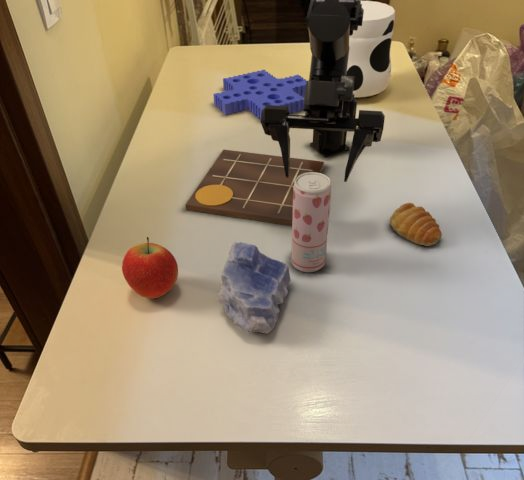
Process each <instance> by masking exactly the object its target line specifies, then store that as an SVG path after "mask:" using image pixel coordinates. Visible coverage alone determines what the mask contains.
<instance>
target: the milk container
mask: <svg viewBox="0 0 524 480" xmlns="http://www.w3.org/2000/svg"><path fill="white" fill-rule="evenodd" d="M360 1H361V4H362V8H363V10H364V14H363V22H362V26H358V30H357V31H355V30H353V35H352V36H349V48H350V49H349V57H348V66H347V74H348V76H354V87H353V94H354V98H355V100H356V101H358V100H367V99H371V98H374V97H378V96H379V95H380V94H382V93H383V92H384V91H385V90H386V89H387V88H388V85H389V82H390V78H391V75H392V61H391V49H392V43H393V42H392V41H393V37H394V27H395V21H396V10H395V9H394V7H393V6H392V5H390V4H387V3H383V2H380V1H373V0H360Z"/></svg>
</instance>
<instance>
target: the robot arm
mask: <svg viewBox="0 0 524 480" xmlns="http://www.w3.org/2000/svg"><path fill="white" fill-rule="evenodd" d="M361 1H362V0H310V2H309V6H308V9H307V14H306V18H305V19H306V20H305V24H306V30H308V39H309V48H310V53H311V59H310V67H309V75H308V76H309V77H308V80H306V92H305V96H304V97H303V98H304V107H303V109H304V111H303V112H304V114H289V110H288V106H275V105H266V106H265V107H264V108H263V109H262V113H261V120H260V125H261V127H262V130H263V132H264V134H265V135H266V136H270V137H271V140H272V141H274V142H278V145H279V149H280V153H281V157H282V159H283V164H284V170H285V175H286V178H289V172H290V158H291V137H290V129H299V130H300V129H301V130H302V129H303V130H312V131H313V132H312V142H310V143H309V146H310V148H312V149H314V151H315V152H317V153H318V154H319V155H321V156H322V157H324V158H329V157H333V156H336V155H339V154H342V153H346V152H348V153H349V154H348V157H347V162H346V166H345V170H344V176H343V182H344V183H347V182H348V180H349V177H350V175H351V173H352V171H353V169H354V167H355V165H356V163H357V161H358V160H359V157H360V156H361V155H362V152H363V151H364V149H365V148H369V147H372V146H373V143H378V142H381V141H382V136H383V132H384V127H385V120H386V119H385V117H386V116H385V114H384V112H383V111H382V110H367V109H366V110H365V109H358V115H357V108H358V101H357V100H356V99H355V98H354V94H353V87H354V76H348V74H347V66H348V57H349V49H350V48H349V36H352V35H353V30H355V31H357V30H358V26H362V22H363V14H364V10H363V8H362V4H361ZM356 116H357V117H356ZM348 132H351V133H353V136H352V140H351V146H350V147H349V146H348V145H347V135H348Z"/></svg>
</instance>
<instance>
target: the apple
mask: <svg viewBox="0 0 524 480" xmlns="http://www.w3.org/2000/svg"><path fill="white" fill-rule="evenodd" d="M149 240H150V238H149V236H147V237H146V241H147V242H142V243H138V244H137V243H136V245H133V246H132V247H130V248H129V249H128V250H127V252H126V253H125V255H124V256H123V260H122V263H121V272H122V275H123V277H124V279H125V281H126V283H127V284H128V286H129V287H130V288H131V289H132V290H133V291H134V292H135V293H136V294H138V295H139V296H141V297H143V298H145V299H156V298H157V299H158V298H160V297H162V296H164V295H166V294H167V293H168V292H169V291H171V290H172V288H173V287H174V286H175V284H176V282H177V280H178V278H179V277H178V276H179V266H178V262H177V259H176V257H175V256H174V254H172V253H171V251H170V250H169V249H167V248H166V247H164V246H162V245H161V244H158V243H153V242H150V241H149Z"/></svg>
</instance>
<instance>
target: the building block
mask: <svg viewBox="0 0 524 480" xmlns="http://www.w3.org/2000/svg"><path fill="white" fill-rule="evenodd" d="M306 81H307V79H306V78H304V77H303V76H301V75H300V74H294V75H293V76H292V75H290V76H289V77H288V76H285V77H284V78H282V77H281V78H277V77H276V76H274V75H273V74H271V73H270V72H269V71H266V69H261V70H256V71H252V72H247V73H242V74H237V75H233V76H228V77H225V78H224V77H223V78H222V87H223V90H224V91H221V92H215V93H213V94H212V95H213V105H214V106H215V107H217V109H219V110H220V111H221V112H222V113H223V114H224V116H228V115H232V114H236V113H238V112H243V111H249V112H250V113H251V114H252V115H254V116H255V117H257V119H259V121H261V113H262V109H263V108H264V107H265V106H266V105H275V106H288V110H289V115H291V114H295V113H299V112H301V111H302V112H305V111H304V109H303V107H304V98H305V92H306Z"/></svg>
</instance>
